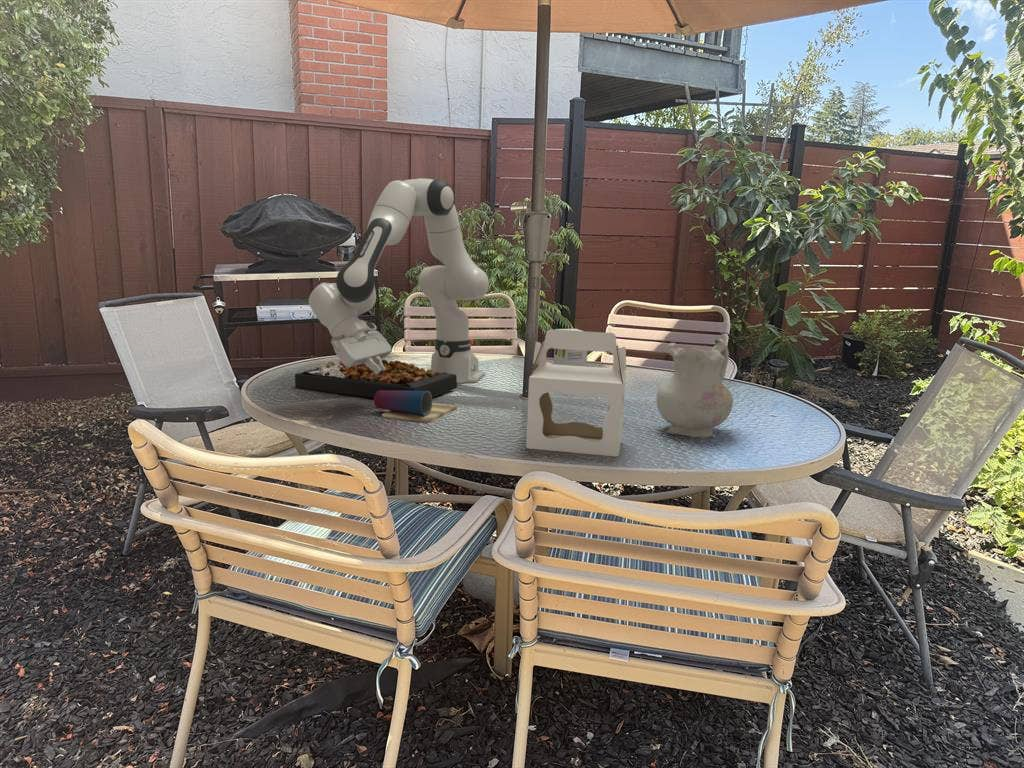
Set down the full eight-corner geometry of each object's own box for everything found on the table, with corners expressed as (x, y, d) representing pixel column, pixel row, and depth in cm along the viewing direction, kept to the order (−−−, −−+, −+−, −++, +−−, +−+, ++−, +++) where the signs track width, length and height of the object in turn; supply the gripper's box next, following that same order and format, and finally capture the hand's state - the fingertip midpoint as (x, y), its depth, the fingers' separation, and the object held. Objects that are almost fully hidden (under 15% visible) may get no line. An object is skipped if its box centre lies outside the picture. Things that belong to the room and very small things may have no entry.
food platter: (295, 387, 222) (293, 355, 220) (344, 375, 243) (343, 346, 241) (414, 403, 203) (414, 368, 201) (456, 388, 225) (456, 356, 223)
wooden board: (414, 403, 206) (414, 400, 206) (457, 408, 201) (457, 406, 201) (382, 416, 190) (382, 413, 190) (427, 423, 185) (427, 420, 185)
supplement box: (552, 373, 259) (554, 328, 256) (573, 372, 263) (576, 328, 259) (564, 378, 251) (567, 332, 247) (586, 377, 254) (589, 331, 251)
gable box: (622, 441, 174) (629, 330, 168) (619, 457, 161) (627, 337, 155) (534, 434, 178) (539, 325, 172) (525, 448, 165) (529, 331, 160)
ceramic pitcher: (680, 421, 200) (681, 335, 196) (747, 429, 187) (749, 337, 183) (643, 436, 183) (643, 342, 179) (714, 446, 171) (715, 345, 167)
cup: (386, 406, 198) (433, 411, 193) (373, 414, 192) (421, 419, 187) (383, 384, 196) (431, 387, 191) (371, 391, 190) (419, 395, 185)
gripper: (335, 330, 183) (367, 370, 181) (377, 323, 201) (406, 359, 200) (321, 346, 185) (353, 385, 184) (364, 337, 204) (393, 373, 202)
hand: (381, 371), depth 192 cm, fingers closed
